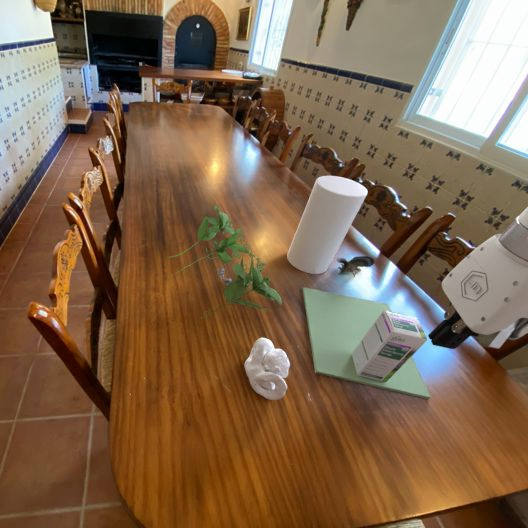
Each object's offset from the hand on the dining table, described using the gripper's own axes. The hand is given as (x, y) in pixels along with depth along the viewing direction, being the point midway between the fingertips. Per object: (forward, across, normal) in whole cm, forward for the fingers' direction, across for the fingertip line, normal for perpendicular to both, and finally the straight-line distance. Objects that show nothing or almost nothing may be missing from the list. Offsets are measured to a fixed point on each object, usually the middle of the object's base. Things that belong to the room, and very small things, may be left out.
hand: (440, 342), depth 45 cm
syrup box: (+20, -8, 0) cm, 21 cm away
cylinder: (+21, -44, -8) cm, 49 cm away
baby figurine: (+20, -1, -22) cm, 30 cm away
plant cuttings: (+21, -21, -35) cm, 46 cm away
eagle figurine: (+20, -42, +4) cm, 47 cm away
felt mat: (+20, -17, 0) cm, 26 cm away
